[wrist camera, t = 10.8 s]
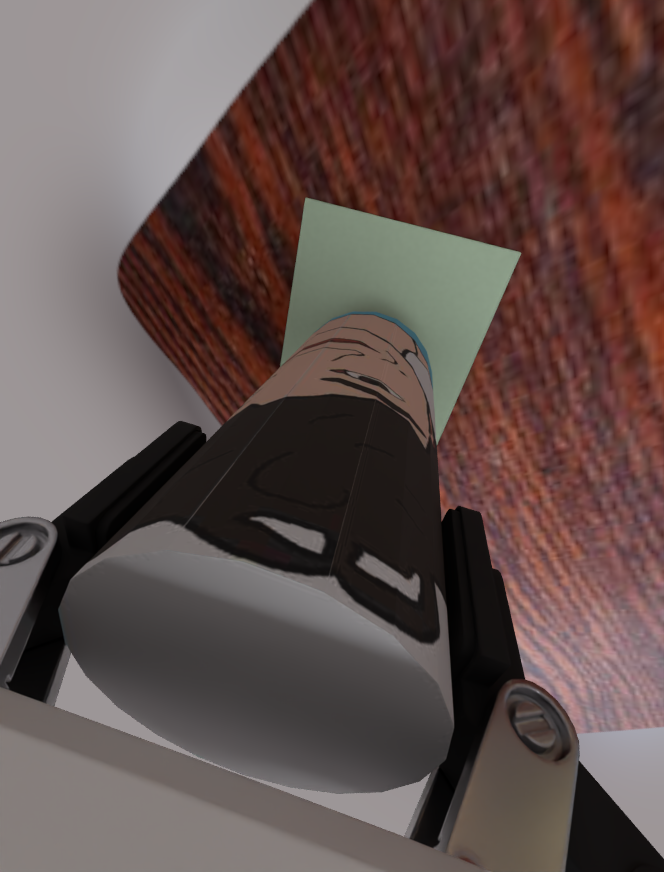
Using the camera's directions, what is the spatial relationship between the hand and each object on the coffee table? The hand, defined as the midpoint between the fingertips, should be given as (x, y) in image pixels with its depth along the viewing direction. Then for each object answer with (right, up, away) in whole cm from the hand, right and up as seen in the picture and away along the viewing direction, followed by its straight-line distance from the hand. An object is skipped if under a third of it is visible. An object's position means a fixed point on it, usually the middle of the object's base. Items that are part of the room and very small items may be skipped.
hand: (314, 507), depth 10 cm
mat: (+3, +8, +14) cm, 16 cm away
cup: (+2, +5, +9) cm, 10 cm away
